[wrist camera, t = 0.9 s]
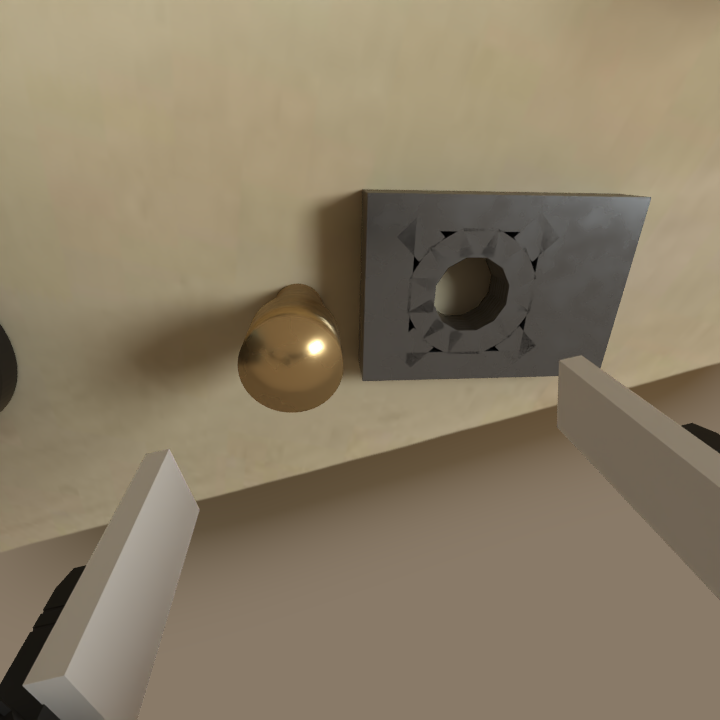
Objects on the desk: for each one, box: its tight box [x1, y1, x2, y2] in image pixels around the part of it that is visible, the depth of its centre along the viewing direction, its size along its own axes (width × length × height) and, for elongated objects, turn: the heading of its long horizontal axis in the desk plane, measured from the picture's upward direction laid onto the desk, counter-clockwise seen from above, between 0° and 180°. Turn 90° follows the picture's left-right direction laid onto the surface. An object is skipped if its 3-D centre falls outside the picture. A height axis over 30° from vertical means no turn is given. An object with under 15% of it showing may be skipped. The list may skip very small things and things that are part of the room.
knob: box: [238, 284, 343, 412], centre depth 29 cm, size 6×6×11 cm
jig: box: [359, 189, 651, 381], centre depth 33 cm, size 20×14×4 cm
